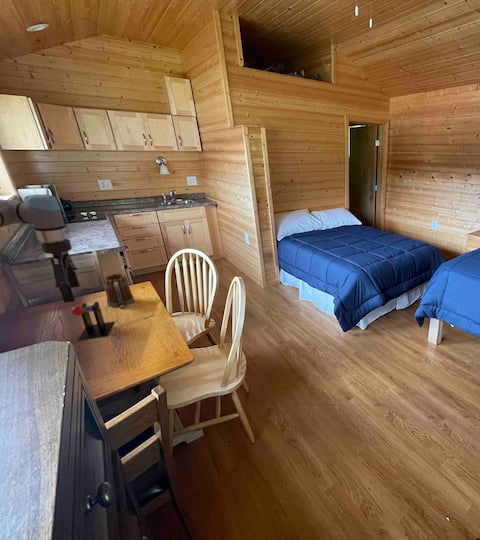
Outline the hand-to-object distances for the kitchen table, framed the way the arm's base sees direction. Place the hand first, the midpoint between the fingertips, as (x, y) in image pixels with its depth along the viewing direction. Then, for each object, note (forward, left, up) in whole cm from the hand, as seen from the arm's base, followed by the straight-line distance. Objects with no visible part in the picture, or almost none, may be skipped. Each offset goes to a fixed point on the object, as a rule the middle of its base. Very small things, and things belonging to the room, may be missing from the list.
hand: (72, 294), depth 113 cm
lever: (+1, +1, -10) cm, 10 cm away
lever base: (+2, +7, -22) cm, 24 cm away
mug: (+10, +29, -23) cm, 38 cm away
